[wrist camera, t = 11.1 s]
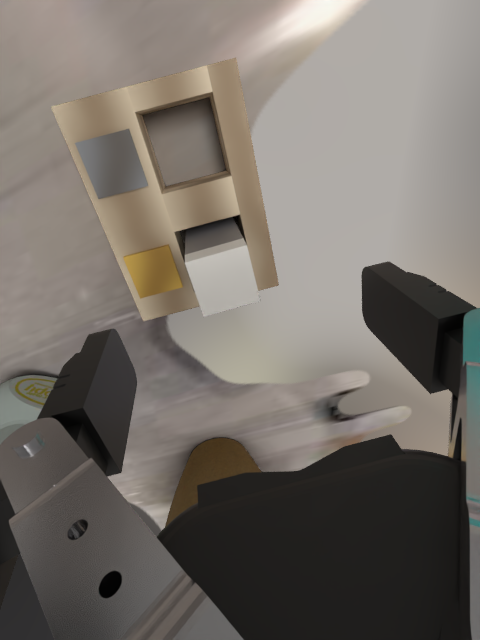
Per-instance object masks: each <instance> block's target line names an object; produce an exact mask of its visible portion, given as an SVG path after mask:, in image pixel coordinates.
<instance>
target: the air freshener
mask: <svg viewBox="0 0 480 640" xmlns="http://www.w3.org/2000/svg"><path fill="white" fill-rule="evenodd" d="M56 380H57V378H53V377H47V376H39V375H28V376H20V377H17V378H13V379H10V380H8V381H6V382H4V383H2V384H0V444H1V443H2V442H3V441H4V440H5V439H6V438H7V437H8V436H9V435H10V434H12V433H13V432H14V431H16V430H17V429H18V428H20V427H22V426H23V425H25V424H27V423H29V422H32V421H34V420H37V418H38V416H39V414H40V412H41V410H42V408H43V406H44V404H45V402H46V400H47V398H48V396H49V394H50V392H51V390H52V389H53V386H54V384H55V382H56Z"/></svg>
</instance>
